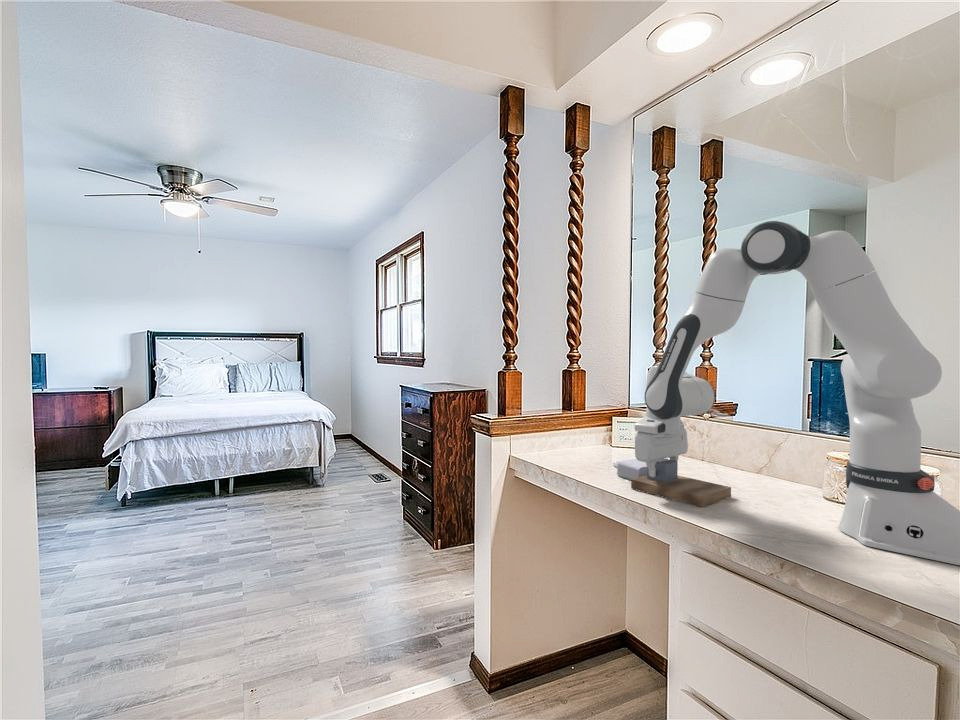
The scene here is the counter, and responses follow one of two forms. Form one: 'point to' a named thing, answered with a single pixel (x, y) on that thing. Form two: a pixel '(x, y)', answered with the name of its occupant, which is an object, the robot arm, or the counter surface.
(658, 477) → the blue-grey cube block
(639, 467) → the charger
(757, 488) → the counter surface
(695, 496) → the board
